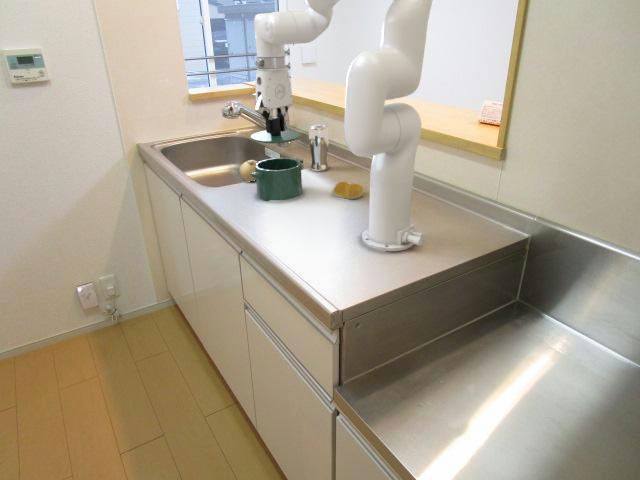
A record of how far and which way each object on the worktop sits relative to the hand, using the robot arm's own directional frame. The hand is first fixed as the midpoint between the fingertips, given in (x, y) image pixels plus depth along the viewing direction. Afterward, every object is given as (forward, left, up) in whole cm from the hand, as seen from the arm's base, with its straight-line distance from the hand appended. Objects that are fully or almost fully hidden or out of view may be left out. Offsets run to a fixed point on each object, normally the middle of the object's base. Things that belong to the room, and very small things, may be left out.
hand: (275, 131), depth 130 cm
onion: (+18, -4, -19) cm, 27 cm away
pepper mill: (+8, -27, -19) cm, 34 cm away
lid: (0, 0, -2) cm, 2 cm away
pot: (0, 0, -19) cm, 19 cm away
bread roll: (-17, -12, -19) cm, 29 cm away
